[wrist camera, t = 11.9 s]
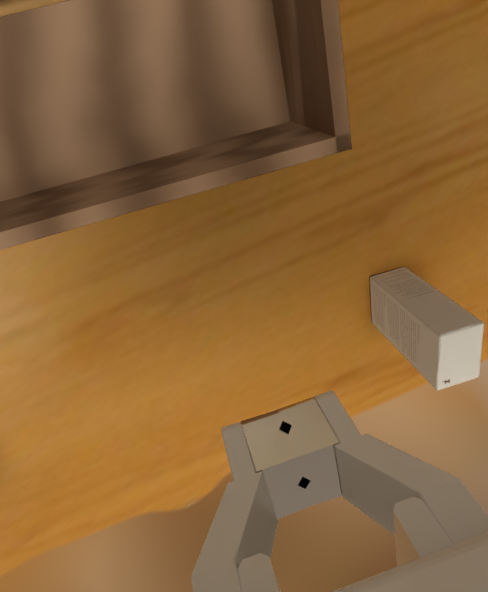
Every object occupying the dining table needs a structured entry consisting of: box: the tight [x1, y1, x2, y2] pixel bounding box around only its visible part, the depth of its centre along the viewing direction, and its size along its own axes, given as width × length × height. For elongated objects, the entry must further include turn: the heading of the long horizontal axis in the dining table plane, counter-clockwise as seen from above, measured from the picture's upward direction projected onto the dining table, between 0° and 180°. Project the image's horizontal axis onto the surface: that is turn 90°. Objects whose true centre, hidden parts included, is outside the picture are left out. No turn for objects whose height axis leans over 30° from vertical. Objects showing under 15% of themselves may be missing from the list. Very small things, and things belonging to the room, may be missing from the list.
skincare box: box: [370, 267, 484, 390], centre depth 42 cm, size 6×4×12 cm
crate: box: [0, 0, 352, 250], centre depth 28 cm, size 26×12×10 cm, turn 103°
